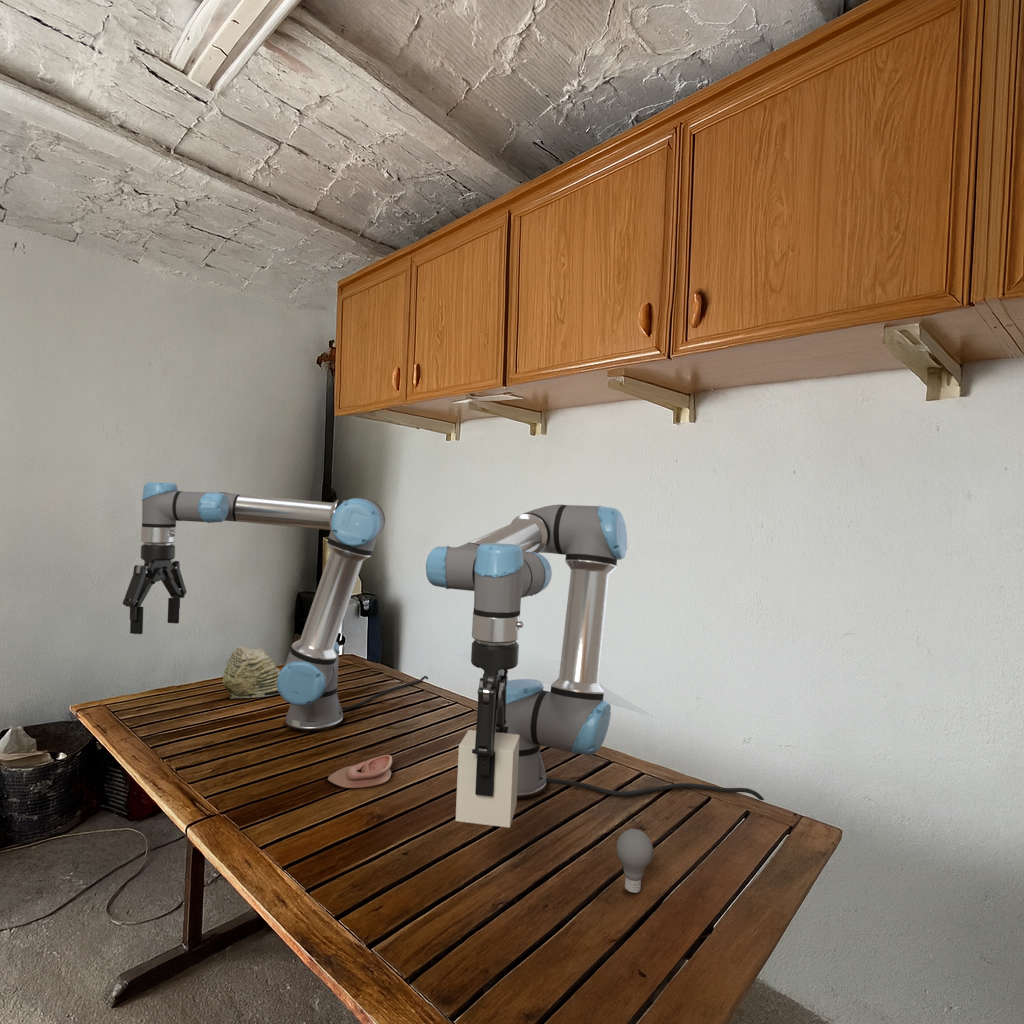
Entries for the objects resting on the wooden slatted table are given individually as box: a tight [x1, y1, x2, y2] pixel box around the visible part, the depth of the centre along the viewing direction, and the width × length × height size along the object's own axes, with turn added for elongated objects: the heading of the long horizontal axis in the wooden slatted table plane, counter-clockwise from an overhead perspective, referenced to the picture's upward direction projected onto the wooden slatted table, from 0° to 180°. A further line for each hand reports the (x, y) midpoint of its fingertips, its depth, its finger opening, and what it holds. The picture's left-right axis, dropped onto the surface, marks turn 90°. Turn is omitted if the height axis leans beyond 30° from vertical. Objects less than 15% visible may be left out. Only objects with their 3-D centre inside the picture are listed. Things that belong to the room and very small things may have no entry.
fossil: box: [222, 646, 281, 699], centre depth 198 cm, size 9×18×15 cm, turn 132°
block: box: [455, 729, 520, 828], centre depth 101 cm, size 9×7×12 cm
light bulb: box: [615, 828, 654, 894], centre depth 106 cm, size 6×6×10 cm
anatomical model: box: [327, 754, 393, 789], centre depth 143 cm, size 13×4×12 cm
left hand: (155, 628), depth 159 cm, fingers open, 13 cm apart
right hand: (489, 783), depth 101 cm, fingers closed on block, 7 cm apart
